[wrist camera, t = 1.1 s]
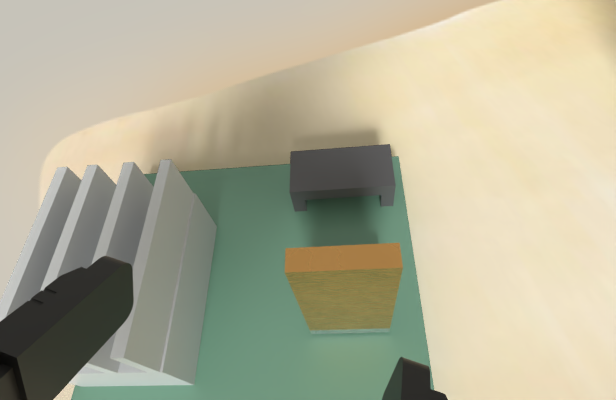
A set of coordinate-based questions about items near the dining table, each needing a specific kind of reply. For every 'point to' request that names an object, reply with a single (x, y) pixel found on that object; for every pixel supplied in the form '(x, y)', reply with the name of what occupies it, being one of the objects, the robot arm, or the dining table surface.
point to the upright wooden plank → (345, 286)
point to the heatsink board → (227, 275)
